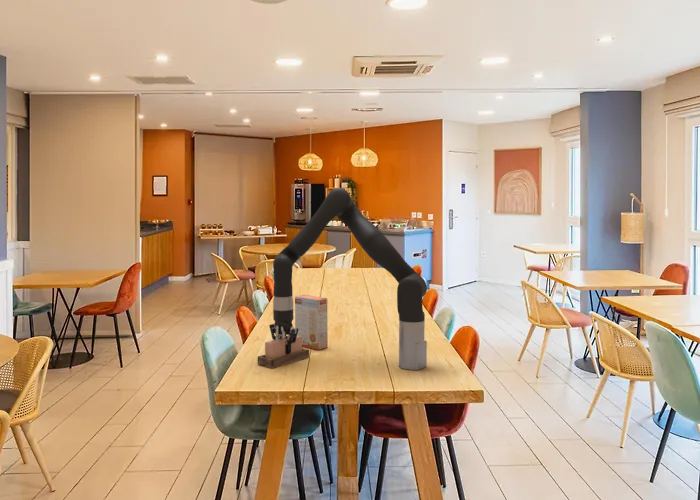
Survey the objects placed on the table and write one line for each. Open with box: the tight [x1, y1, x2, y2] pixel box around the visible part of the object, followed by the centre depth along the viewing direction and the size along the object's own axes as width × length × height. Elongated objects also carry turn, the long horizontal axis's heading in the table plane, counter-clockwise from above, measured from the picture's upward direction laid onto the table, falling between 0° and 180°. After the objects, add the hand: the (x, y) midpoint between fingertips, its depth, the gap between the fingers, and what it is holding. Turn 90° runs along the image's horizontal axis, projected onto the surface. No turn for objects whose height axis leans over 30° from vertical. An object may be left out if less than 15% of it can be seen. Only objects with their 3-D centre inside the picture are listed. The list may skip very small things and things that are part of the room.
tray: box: [257, 347, 310, 369], centre depth 219 cm, size 8×19×3 cm, turn 140°
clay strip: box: [264, 336, 303, 359], centre depth 219 cm, size 15×4×6 cm, turn 139°
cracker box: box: [294, 294, 329, 351], centre depth 239 cm, size 14×6×21 cm, turn 47°
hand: (283, 352), depth 219 cm, fingers closed on clay strip, 3 cm apart
